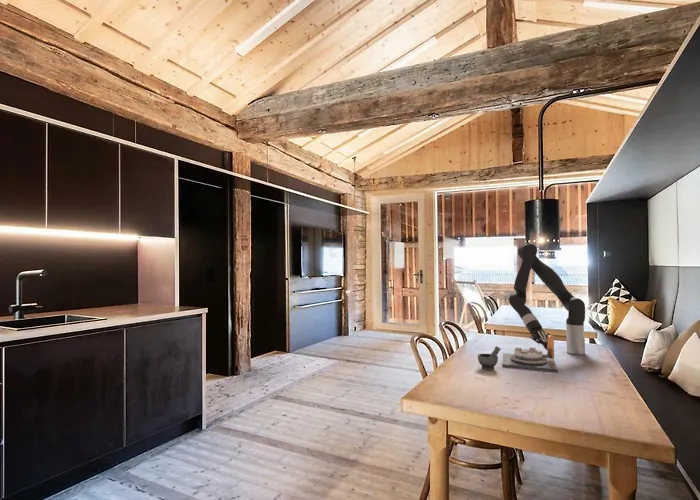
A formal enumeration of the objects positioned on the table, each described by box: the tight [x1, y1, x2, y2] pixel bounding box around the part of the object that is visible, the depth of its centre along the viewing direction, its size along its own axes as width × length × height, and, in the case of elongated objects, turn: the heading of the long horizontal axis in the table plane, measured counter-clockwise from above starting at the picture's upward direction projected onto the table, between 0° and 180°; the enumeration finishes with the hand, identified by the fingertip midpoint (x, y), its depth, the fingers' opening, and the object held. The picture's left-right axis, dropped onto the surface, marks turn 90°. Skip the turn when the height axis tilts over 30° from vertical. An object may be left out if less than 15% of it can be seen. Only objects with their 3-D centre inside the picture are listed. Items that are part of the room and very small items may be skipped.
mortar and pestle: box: [477, 346, 501, 372], centre depth 201 cm, size 11×9×12 cm
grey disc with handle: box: [513, 334, 555, 361], centre depth 212 cm, size 21×14×12 cm
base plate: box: [501, 352, 559, 373], centre depth 212 cm, size 26×26×3 cm
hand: (548, 349), depth 214 cm, fingers closed
